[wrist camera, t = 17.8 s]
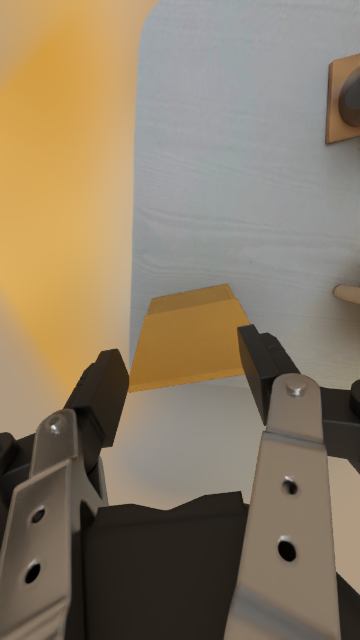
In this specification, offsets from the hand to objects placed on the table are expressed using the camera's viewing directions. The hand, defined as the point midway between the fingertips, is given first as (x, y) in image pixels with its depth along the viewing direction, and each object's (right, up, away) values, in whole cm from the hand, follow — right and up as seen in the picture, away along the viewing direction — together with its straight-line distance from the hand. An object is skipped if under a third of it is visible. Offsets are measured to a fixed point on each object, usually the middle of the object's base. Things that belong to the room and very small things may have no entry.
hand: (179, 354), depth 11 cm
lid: (+2, -1, +15) cm, 16 cm away
